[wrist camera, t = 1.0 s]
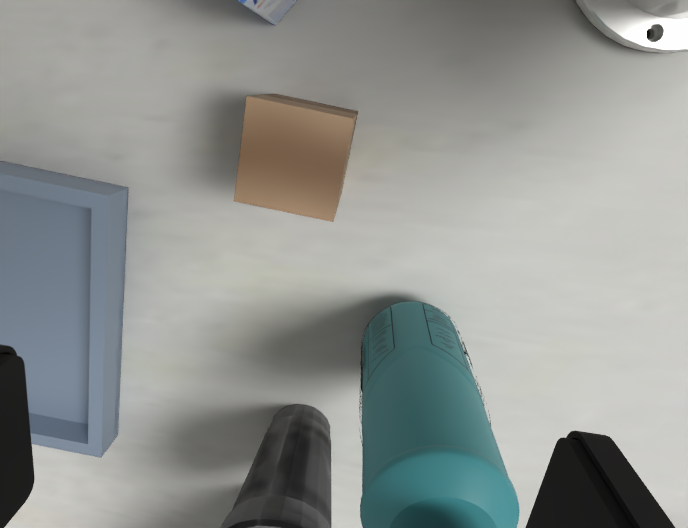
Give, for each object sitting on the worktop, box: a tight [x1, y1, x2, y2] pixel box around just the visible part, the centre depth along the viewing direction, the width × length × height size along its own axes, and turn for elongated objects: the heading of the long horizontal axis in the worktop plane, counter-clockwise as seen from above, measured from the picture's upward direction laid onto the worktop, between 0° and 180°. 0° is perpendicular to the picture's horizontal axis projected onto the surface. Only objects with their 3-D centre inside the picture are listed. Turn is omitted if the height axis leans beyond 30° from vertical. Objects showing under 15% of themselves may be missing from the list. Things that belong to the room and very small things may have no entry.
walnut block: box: [234, 94, 358, 222], centre depth 26 cm, size 5×5×7 cm
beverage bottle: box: [359, 301, 519, 528], centre depth 24 cm, size 6×7×20 cm
